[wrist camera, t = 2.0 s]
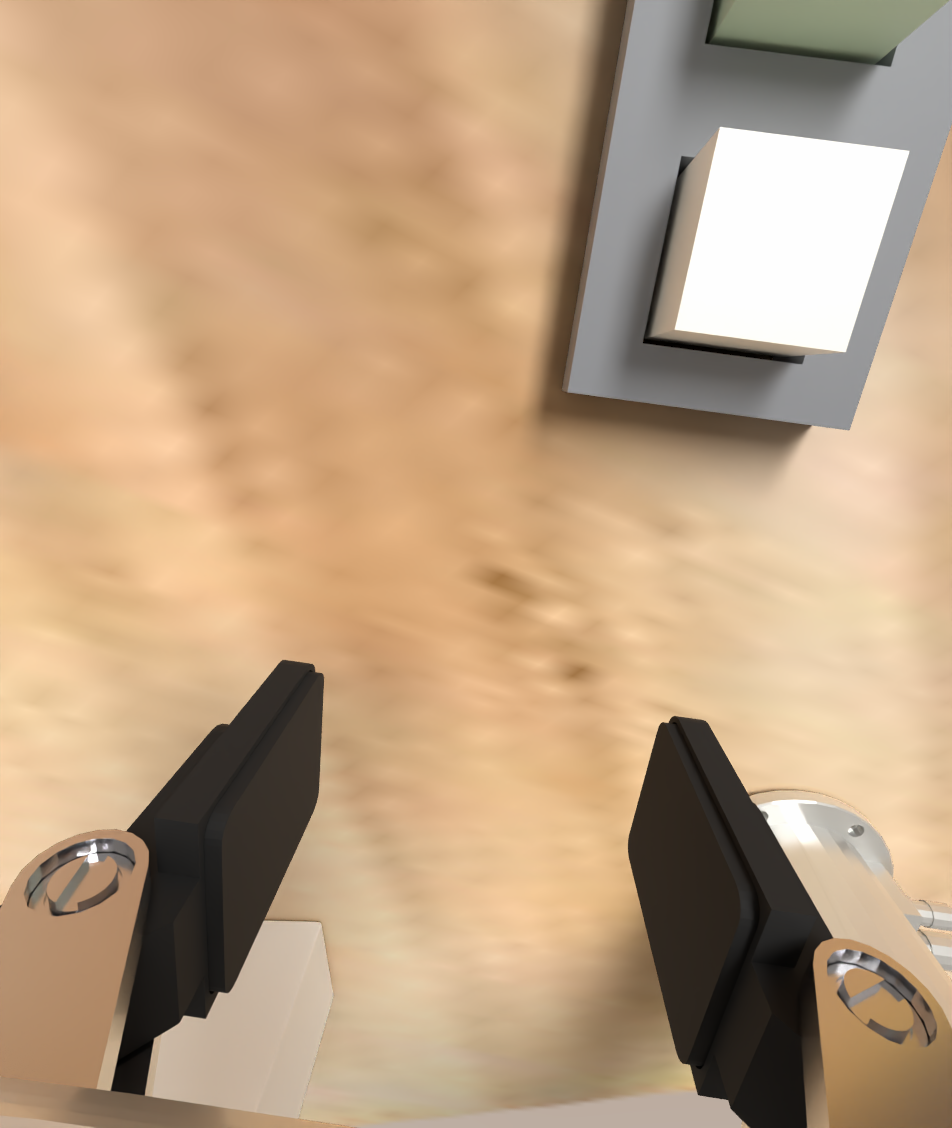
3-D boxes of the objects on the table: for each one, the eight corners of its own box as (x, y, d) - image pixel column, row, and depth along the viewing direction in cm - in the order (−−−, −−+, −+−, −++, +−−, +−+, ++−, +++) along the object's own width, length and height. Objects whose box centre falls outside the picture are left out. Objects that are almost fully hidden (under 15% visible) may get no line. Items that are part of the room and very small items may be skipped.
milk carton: (222, 916, 39) (-23, 1376, 21) (322, 919, 39) (158, 1391, 21) (240, 989, 41) (31, 1461, 23) (335, 992, 41) (196, 1477, 23)
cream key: (825, 198, 23) (909, 151, 18) (780, 357, 24) (845, 352, 20) (676, 179, 23) (720, 126, 18) (643, 338, 25) (674, 329, 20)
